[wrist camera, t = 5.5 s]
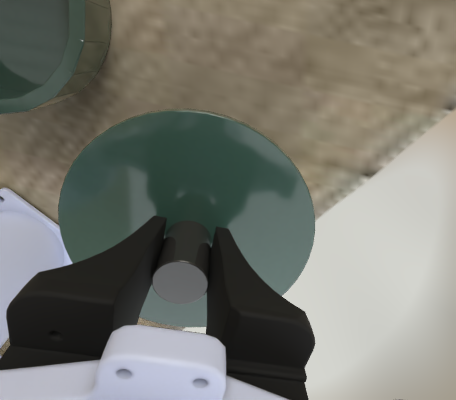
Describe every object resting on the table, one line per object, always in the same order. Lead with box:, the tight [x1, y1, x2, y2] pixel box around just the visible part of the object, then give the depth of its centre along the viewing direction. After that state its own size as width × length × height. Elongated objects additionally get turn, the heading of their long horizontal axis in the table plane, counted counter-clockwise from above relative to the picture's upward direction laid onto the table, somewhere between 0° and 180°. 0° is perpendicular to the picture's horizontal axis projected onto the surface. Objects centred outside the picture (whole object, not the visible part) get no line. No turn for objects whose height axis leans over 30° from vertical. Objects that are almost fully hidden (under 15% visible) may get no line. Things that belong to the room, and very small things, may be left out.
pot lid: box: [58, 109, 315, 327], centre depth 14 cm, size 13×13×4 cm
